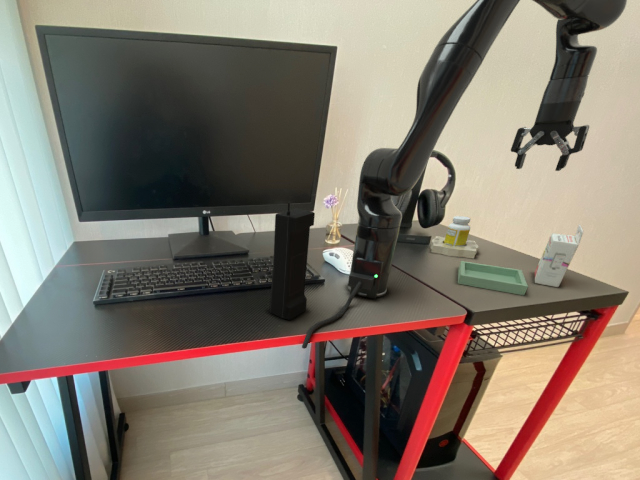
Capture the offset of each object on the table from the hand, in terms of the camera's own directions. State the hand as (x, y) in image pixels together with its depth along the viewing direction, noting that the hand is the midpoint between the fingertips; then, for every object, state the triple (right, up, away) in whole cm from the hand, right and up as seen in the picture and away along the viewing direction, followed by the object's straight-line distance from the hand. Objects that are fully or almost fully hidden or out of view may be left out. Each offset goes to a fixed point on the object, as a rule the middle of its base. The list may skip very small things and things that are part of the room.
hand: (537, 169), depth 88 cm
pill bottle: (-9, -19, +22) cm, 30 cm away
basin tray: (-14, -30, -1) cm, 34 cm away
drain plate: (-9, -19, +22) cm, 30 cm away
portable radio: (-70, -38, -13) cm, 81 cm away
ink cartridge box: (+1, -30, -1) cm, 31 cm away
